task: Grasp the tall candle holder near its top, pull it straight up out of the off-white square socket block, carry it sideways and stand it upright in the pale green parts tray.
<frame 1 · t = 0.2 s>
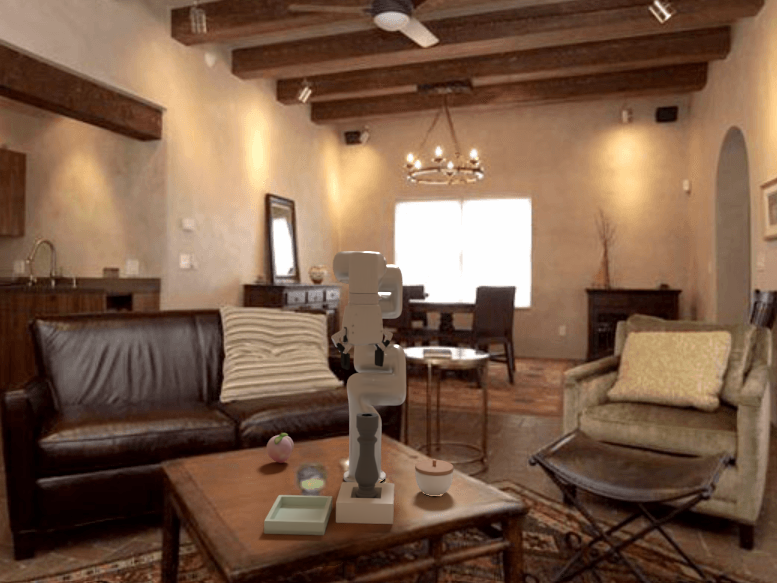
hand: (362, 367, 150), 37 cm above the table, tool pointing down, fingers open, 9 cm apart
parts tray: (300, 519, 146), on the table
candle holder: (366, 512, 151), resting in socket block
socket block: (366, 511, 151), on the table
lidded jar: (433, 493, 165), on the table
decorative fruit: (279, 463, 188), on the table
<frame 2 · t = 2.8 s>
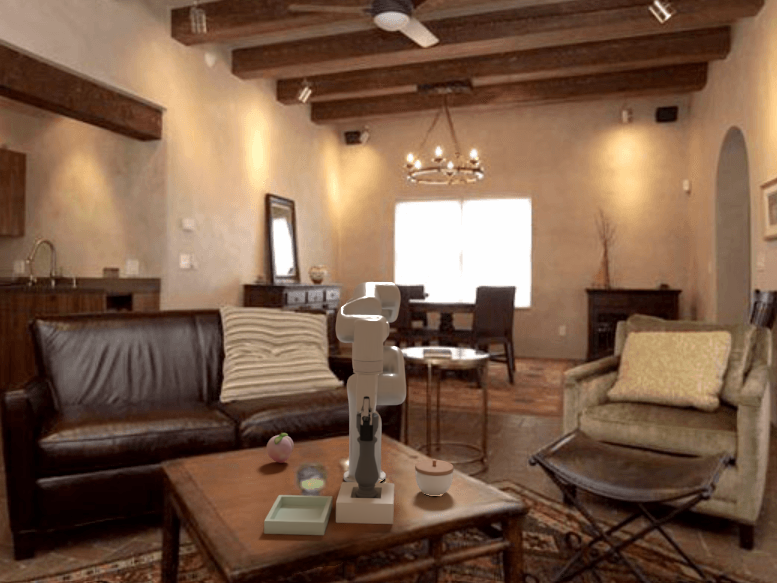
hand: (367, 436, 151), 20 cm above the table, tool pointing down, fingers closed on candle holder, 5 cm apart
candle holder: (366, 512, 151), resting in socket block, touching gripper
everything else where it was.
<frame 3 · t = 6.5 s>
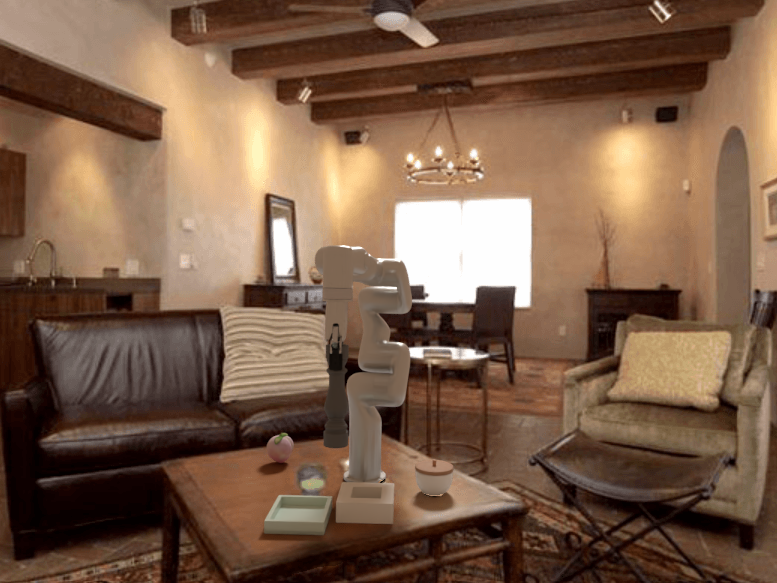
hand: (336, 367, 147), 38 cm above the table, tool pointing down, fingers closed on candle holder, 5 cm apart
candle holder: (335, 445, 148), point 18 cm above the table, touching gripper
everything else where it was.
when the fingers open (22 cm above the table, at t = 10.5 s): candle holder drops 2 cm, resting on parts tray.
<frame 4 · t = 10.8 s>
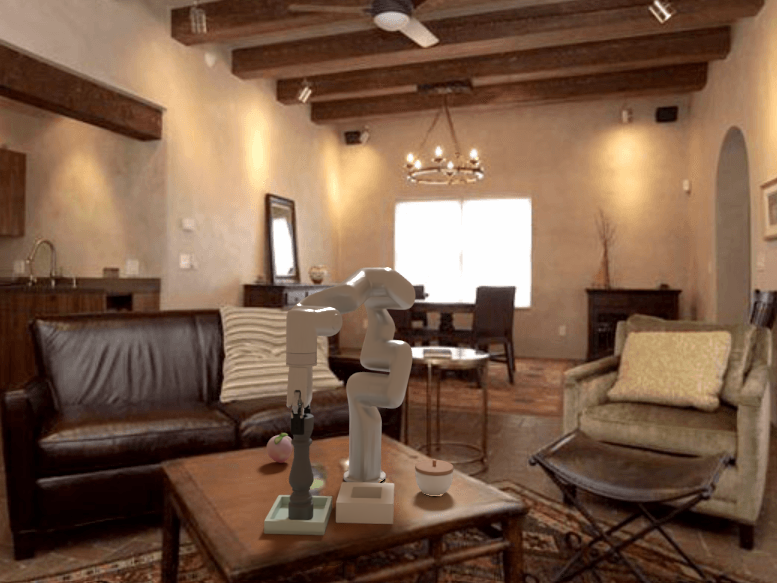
hand: (300, 429, 145), 23 cm above the table, tool pointing down, fingers open, 8 cm apart
candle holder: (300, 517, 146), point 1 cm above the table, touching parts tray
everything else where it was.
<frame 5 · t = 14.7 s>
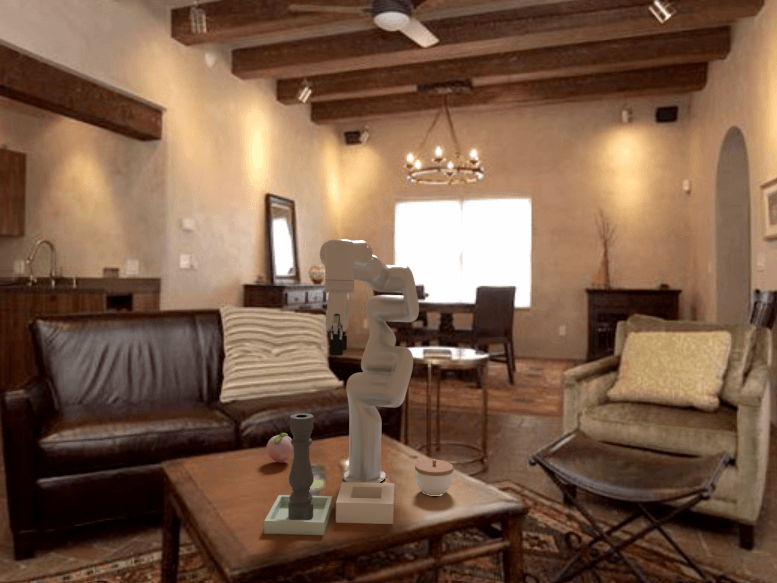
hand: (338, 352, 154), 40 cm above the table, tool pointing down, fingers open, 9 cm apart
nothing on the table moved.
at the end: candle holder inside the target area on the parts tray (0.2 cm from its centre), point 0.6 cm above the parts tray's base; candle holder tilted 0°; the gripper is holding nothing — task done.
